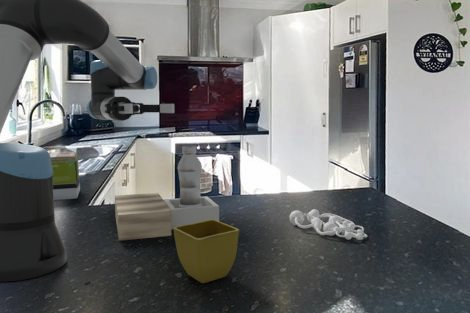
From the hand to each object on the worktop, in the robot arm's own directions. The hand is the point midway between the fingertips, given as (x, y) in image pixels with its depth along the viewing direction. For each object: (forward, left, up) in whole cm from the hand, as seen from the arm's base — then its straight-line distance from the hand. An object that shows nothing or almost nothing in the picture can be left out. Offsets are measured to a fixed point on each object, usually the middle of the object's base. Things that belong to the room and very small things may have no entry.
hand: (153, 108), depth 116 cm
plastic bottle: (-12, -8, -30) cm, 33 cm away
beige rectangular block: (-12, +5, -30) cm, 33 cm away
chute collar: (-12, -8, -30) cm, 33 cm away
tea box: (+35, +27, -30) cm, 54 cm away
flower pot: (-49, -3, -30) cm, 58 cm away
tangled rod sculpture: (-31, -39, -31) cm, 58 cm away
